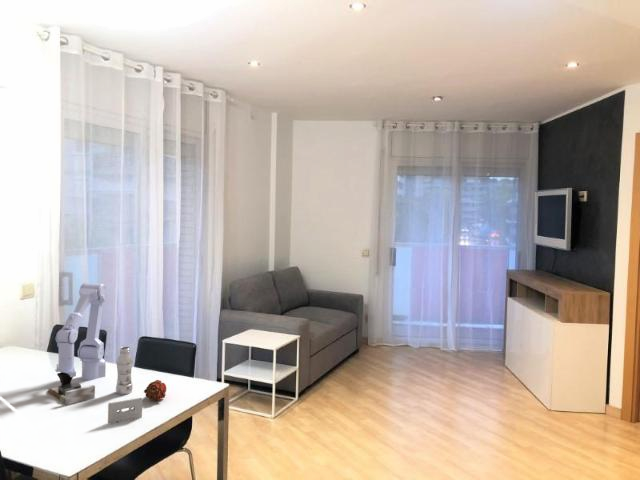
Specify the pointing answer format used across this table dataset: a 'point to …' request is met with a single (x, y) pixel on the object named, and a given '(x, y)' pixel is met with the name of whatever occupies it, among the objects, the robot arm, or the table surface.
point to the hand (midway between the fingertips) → (65, 389)
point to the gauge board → (74, 395)
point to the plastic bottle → (124, 372)
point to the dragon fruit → (155, 390)
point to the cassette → (124, 415)
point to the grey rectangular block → (68, 388)
